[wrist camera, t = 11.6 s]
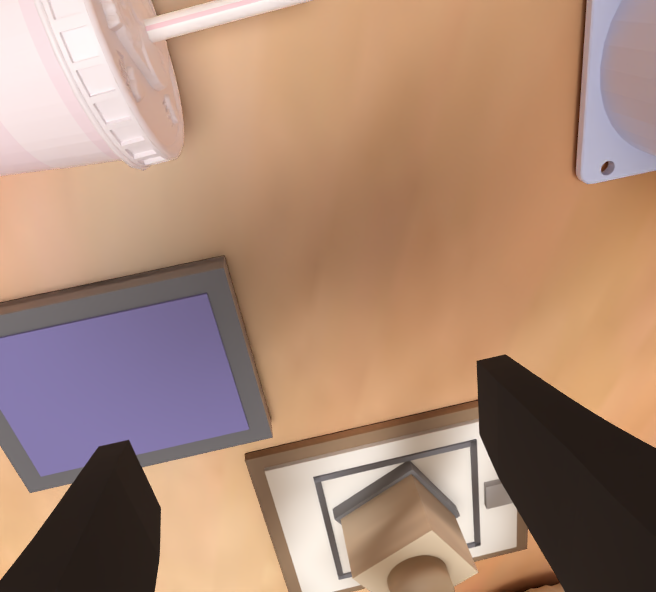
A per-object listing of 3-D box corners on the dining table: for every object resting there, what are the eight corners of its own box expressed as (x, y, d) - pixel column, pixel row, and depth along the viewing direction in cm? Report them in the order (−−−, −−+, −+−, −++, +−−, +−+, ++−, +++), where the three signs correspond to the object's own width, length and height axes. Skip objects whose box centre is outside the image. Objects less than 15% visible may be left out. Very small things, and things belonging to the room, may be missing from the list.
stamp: (408, 459, 26) (441, 547, 22) (455, 505, 28) (493, 593, 24) (332, 509, 26) (350, 601, 22) (383, 550, 28) (408, 642, 24)
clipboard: (540, 385, 25) (550, 398, 25) (534, 540, 31) (542, 554, 30) (244, 453, 25) (245, 469, 24) (292, 598, 30) (294, 614, 29)
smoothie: (-94, 234, 18) (337, 123, 17) (-311, 282, 11) (352, 111, 11) (-191, 18, 16) (283, -112, 16) (-507, -61, 10) (264, -281, 9)
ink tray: (224, 255, 20) (223, 268, 19) (271, 421, 24) (272, 439, 23) (-59, 315, 19) (-74, 332, 19) (37, 474, 23) (29, 494, 23)
